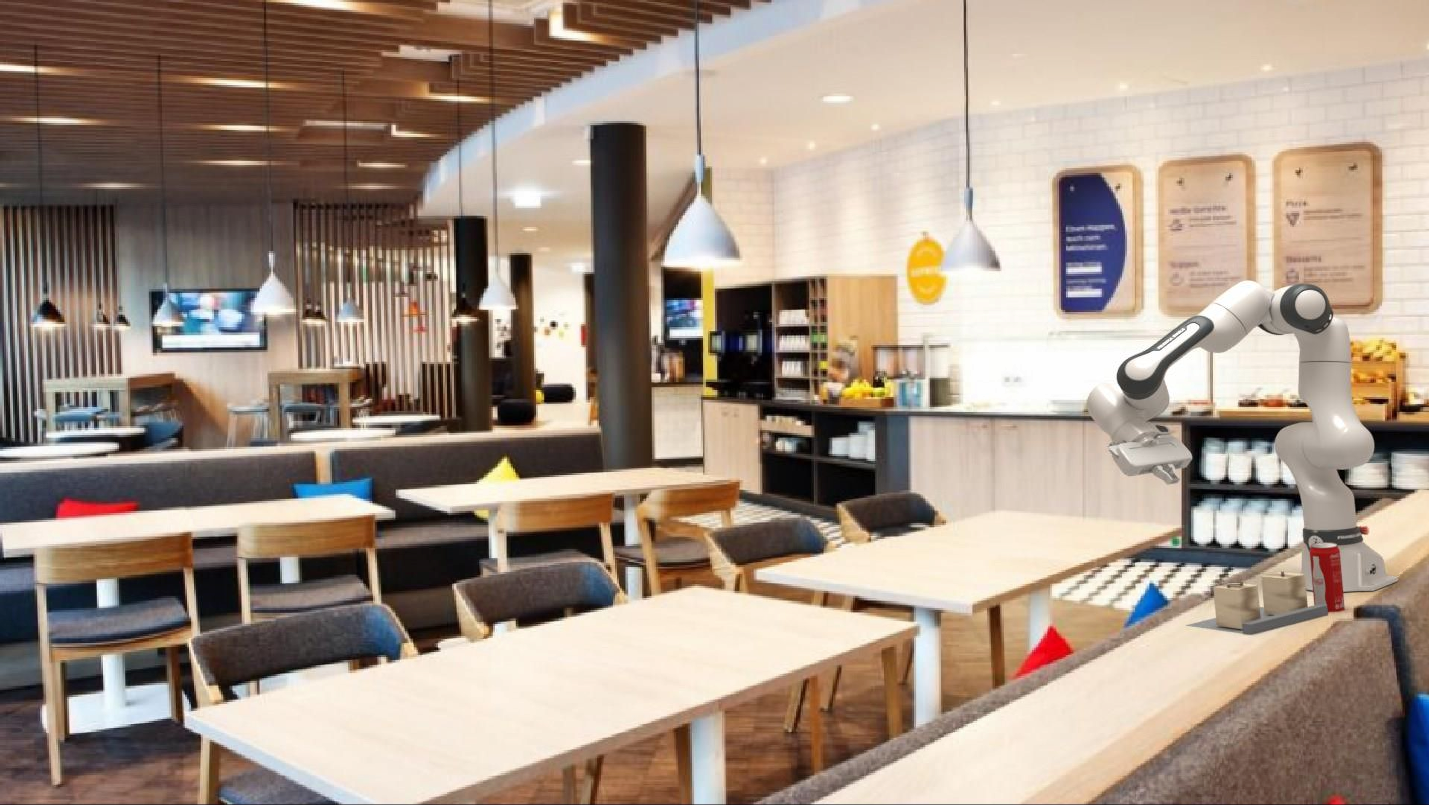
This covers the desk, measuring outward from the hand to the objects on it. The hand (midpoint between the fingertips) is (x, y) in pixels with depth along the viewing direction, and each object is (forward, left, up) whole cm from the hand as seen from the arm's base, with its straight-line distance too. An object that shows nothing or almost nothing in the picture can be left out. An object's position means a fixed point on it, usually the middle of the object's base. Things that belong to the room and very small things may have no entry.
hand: (1174, 482), depth 274 cm
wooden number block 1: (-4, +23, -28) cm, 36 cm away
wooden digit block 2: (+11, +23, -28) cm, 38 cm away
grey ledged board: (+4, +21, -29) cm, 36 cm away
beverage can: (-13, +26, -29) cm, 42 cm away
